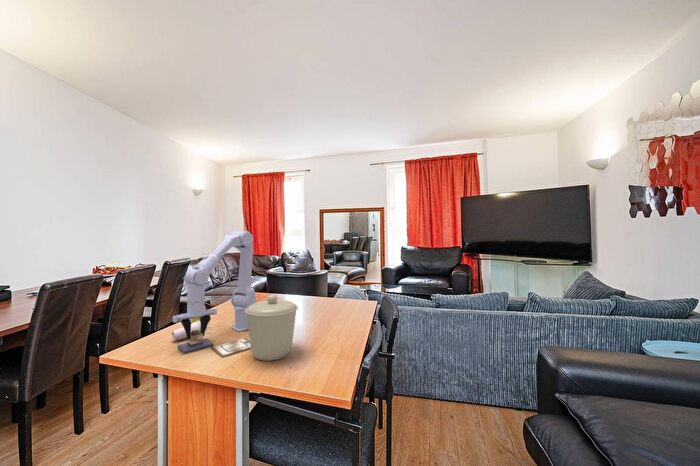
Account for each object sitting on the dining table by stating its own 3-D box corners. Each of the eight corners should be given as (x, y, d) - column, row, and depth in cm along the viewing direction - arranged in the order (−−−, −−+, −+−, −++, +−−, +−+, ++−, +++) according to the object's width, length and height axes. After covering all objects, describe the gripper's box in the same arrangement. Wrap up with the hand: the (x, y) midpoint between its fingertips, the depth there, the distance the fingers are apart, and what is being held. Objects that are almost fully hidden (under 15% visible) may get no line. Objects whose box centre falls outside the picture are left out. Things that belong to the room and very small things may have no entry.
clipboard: (246, 338, 111) (246, 336, 111) (259, 346, 104) (259, 344, 104) (210, 348, 102) (210, 346, 102) (222, 357, 94) (222, 355, 94)
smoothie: (177, 343, 105) (214, 331, 115) (174, 326, 106) (212, 316, 116) (172, 344, 109) (208, 332, 120) (169, 327, 110) (206, 318, 120)
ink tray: (206, 340, 109) (206, 337, 109) (213, 346, 104) (213, 343, 104) (177, 347, 102) (177, 344, 102) (183, 354, 97) (183, 351, 97)
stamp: (199, 340, 106) (199, 328, 106) (203, 343, 103) (203, 331, 103) (186, 343, 103) (186, 331, 103) (190, 346, 100) (190, 334, 100)
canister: (232, 362, 90) (233, 298, 91) (263, 342, 108) (264, 288, 108) (281, 369, 86) (282, 302, 86) (306, 347, 103) (306, 291, 103)
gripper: (212, 296, 111) (212, 329, 111) (170, 302, 101) (170, 339, 101) (219, 299, 106) (218, 334, 106) (175, 306, 96) (175, 344, 96)
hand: (195, 337), depth 103 cm, fingers closed on stamp, 4 cm apart
